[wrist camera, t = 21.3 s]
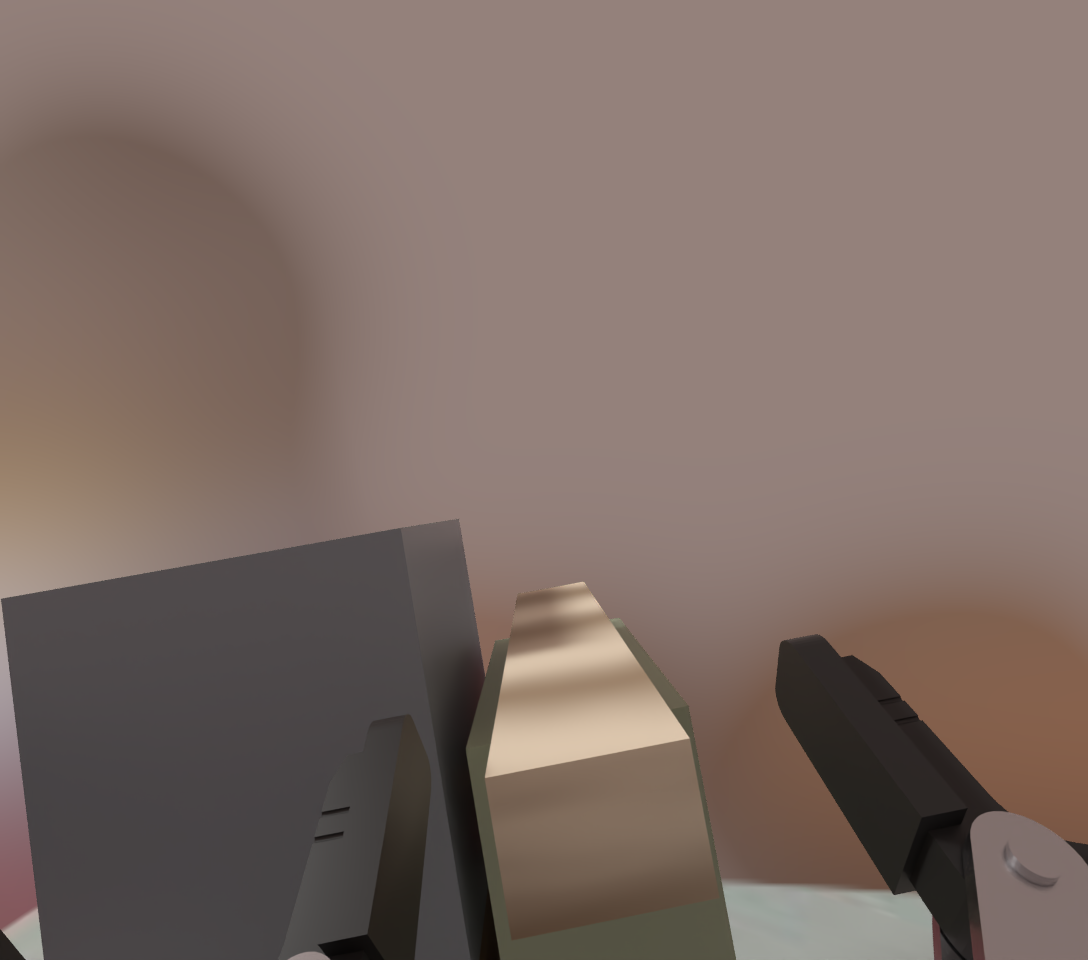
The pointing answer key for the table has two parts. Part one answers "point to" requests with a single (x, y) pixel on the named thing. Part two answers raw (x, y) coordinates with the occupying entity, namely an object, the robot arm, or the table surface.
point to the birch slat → (589, 776)
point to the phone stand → (8, 949)
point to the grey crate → (238, 739)
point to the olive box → (617, 945)
